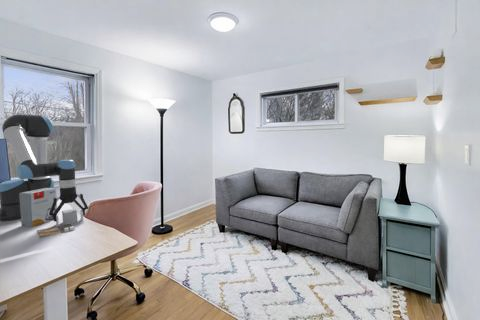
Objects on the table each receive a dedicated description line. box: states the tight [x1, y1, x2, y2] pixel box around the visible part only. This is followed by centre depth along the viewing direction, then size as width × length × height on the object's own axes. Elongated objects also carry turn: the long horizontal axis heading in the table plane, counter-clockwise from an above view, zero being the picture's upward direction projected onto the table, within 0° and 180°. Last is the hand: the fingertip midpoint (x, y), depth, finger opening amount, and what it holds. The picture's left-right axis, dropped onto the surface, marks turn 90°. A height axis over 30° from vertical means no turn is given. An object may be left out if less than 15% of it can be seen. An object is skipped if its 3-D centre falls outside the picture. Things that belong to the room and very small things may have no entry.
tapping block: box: [61, 208, 78, 225], centre depth 139 cm, size 6×6×8 cm
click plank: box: [36, 226, 61, 239], centre depth 125 cm, size 12×8×1 cm, turn 46°
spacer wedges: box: [64, 225, 76, 233], centre depth 127 cm, size 2×4×2 cm, turn 136°
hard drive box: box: [19, 187, 58, 228], centre depth 139 cm, size 16×8×20 cm, turn 168°
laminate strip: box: [56, 224, 73, 234], centre depth 130 cm, size 12×6×1 cm, turn 46°
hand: (70, 223), depth 139 cm, fingers open, 11 cm apart
